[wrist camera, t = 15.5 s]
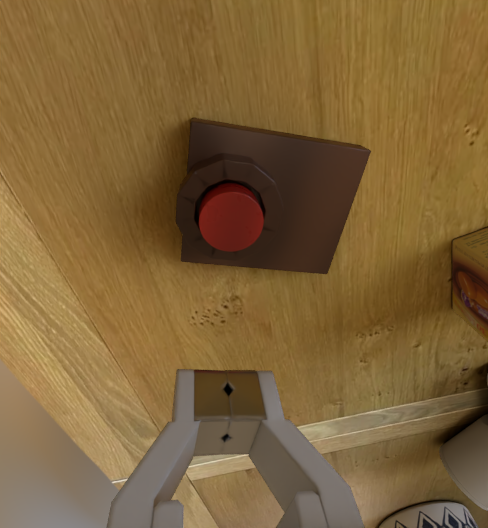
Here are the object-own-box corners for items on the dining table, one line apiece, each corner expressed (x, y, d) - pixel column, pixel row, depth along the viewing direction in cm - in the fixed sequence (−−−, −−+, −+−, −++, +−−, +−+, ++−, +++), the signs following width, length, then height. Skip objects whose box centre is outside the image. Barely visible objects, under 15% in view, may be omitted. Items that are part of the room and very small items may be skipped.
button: (196, 236, 21) (196, 248, 20) (202, 178, 19) (202, 187, 18) (253, 242, 22) (257, 254, 21) (265, 187, 20) (269, 196, 19)
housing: (176, 250, 25) (172, 274, 22) (184, 116, 20) (181, 124, 17) (321, 263, 28) (334, 287, 25) (361, 145, 22) (384, 156, 20)
